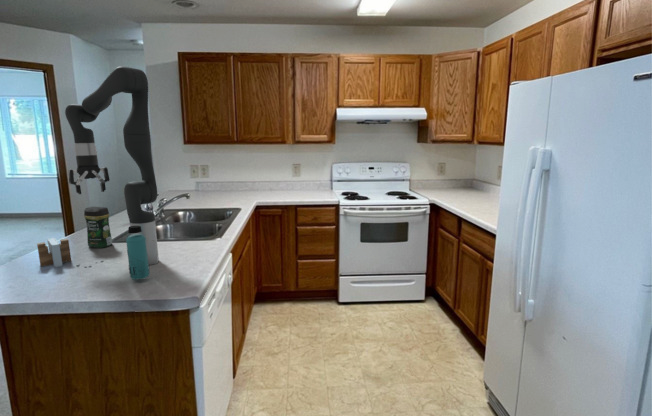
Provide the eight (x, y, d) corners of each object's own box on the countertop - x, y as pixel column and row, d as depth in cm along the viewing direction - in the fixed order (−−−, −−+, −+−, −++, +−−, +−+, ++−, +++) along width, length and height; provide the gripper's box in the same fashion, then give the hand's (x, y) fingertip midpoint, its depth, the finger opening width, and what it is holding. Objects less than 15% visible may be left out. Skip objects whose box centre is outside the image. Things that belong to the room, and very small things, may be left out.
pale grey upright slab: (57, 258, 156) (54, 237, 155) (62, 266, 148) (59, 244, 146) (50, 259, 155) (47, 239, 153) (55, 267, 146) (51, 245, 144)
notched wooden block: (71, 260, 154) (68, 239, 152) (41, 266, 147) (37, 244, 145) (70, 259, 155) (67, 238, 154) (40, 265, 149) (36, 243, 147)
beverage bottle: (153, 276, 137) (148, 223, 133) (145, 283, 131) (139, 228, 127) (135, 276, 137) (129, 223, 133) (126, 283, 131) (120, 228, 127)
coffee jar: (84, 247, 171) (79, 208, 167) (98, 242, 179) (93, 204, 175) (103, 249, 169) (98, 209, 166) (115, 244, 177) (111, 205, 173)
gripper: (103, 153, 163) (107, 190, 166) (63, 154, 153) (69, 194, 156) (108, 153, 157) (112, 191, 160) (68, 155, 148) (73, 195, 151)
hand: (91, 192), depth 158 cm, fingers open, 8 cm apart
